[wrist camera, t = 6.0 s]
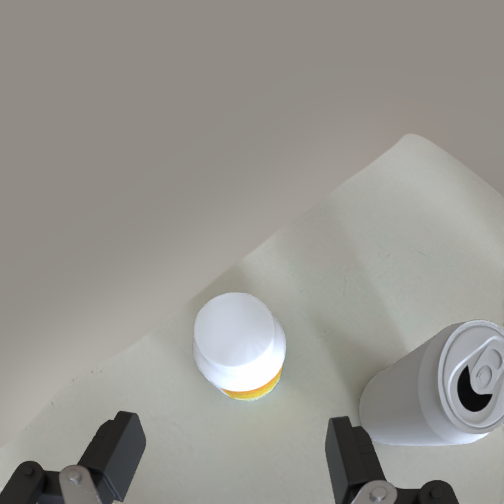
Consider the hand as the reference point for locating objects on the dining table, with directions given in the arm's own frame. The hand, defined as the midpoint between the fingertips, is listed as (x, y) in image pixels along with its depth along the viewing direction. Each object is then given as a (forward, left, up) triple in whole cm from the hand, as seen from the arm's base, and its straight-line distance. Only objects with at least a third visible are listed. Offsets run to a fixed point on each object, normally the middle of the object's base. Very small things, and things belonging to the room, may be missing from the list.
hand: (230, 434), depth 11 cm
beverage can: (+11, -2, -11) cm, 16 cm away
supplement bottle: (+1, +5, -11) cm, 12 cm away
